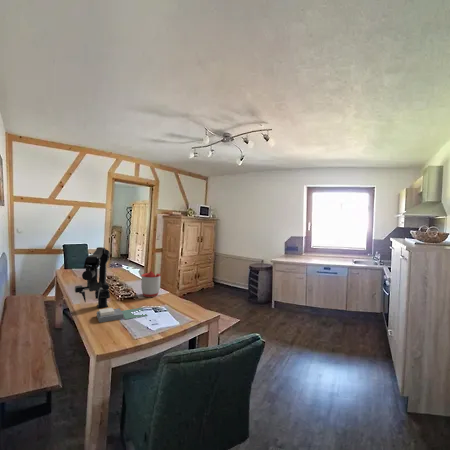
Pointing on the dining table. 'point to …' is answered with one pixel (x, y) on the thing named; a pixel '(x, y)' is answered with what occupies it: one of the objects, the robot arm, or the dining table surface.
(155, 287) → the citrus juicer
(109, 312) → the tile
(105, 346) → the dining table surface
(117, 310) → the plate
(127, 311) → the mat
